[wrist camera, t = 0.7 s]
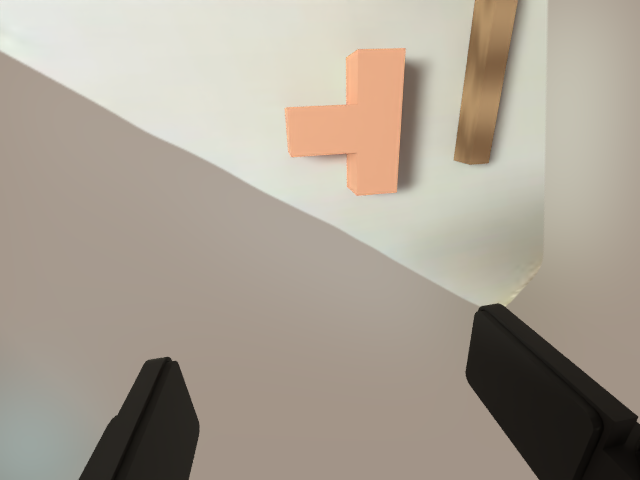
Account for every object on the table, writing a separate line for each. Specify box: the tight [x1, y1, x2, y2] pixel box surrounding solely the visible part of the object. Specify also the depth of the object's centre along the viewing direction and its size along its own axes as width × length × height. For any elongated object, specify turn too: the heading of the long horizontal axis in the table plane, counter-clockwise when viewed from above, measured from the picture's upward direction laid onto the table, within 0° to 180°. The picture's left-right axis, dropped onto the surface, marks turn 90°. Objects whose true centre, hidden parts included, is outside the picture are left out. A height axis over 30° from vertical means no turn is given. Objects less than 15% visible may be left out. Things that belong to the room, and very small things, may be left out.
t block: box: [285, 48, 406, 196], centre depth 28 cm, size 12×10×4 cm
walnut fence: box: [454, 0, 518, 165], centre depth 27 cm, size 18×12×3 cm, turn 2°
